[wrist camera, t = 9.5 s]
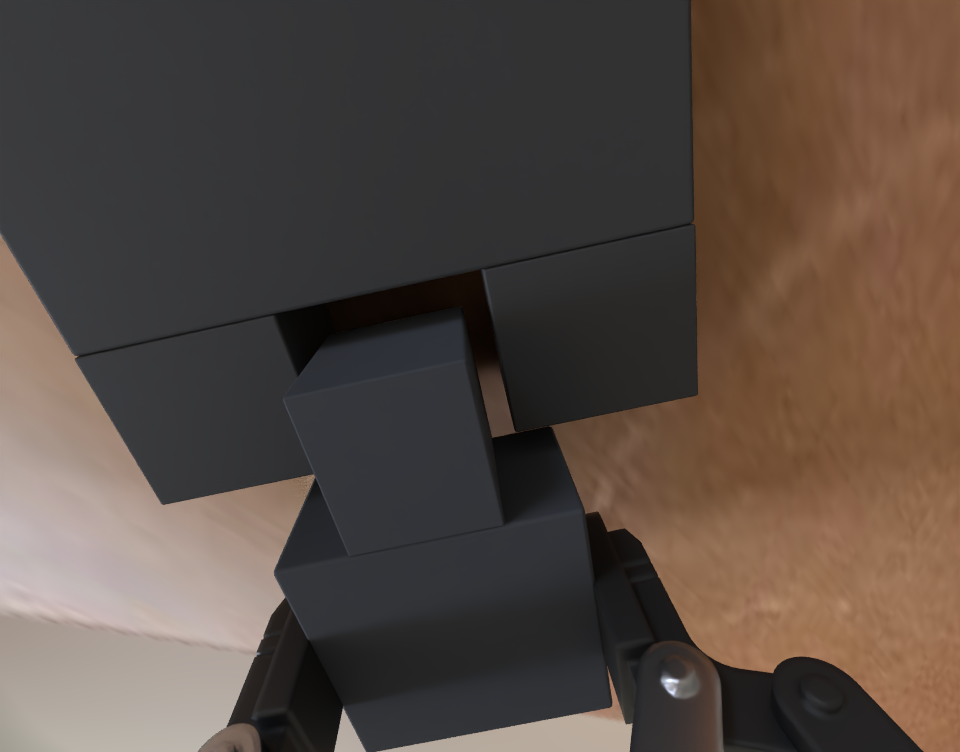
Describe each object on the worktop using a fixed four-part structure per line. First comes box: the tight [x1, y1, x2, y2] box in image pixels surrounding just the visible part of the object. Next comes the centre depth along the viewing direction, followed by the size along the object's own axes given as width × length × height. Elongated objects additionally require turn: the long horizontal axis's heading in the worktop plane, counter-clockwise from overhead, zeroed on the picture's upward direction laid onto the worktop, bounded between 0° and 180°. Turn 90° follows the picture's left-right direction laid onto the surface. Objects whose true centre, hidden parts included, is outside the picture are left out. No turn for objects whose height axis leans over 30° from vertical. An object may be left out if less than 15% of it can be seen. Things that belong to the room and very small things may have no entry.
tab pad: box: [274, 306, 612, 752], centre depth 11 cm, size 9×6×3 cm, turn 12°
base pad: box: [0, 0, 698, 505], centre depth 9 cm, size 12×12×3 cm
